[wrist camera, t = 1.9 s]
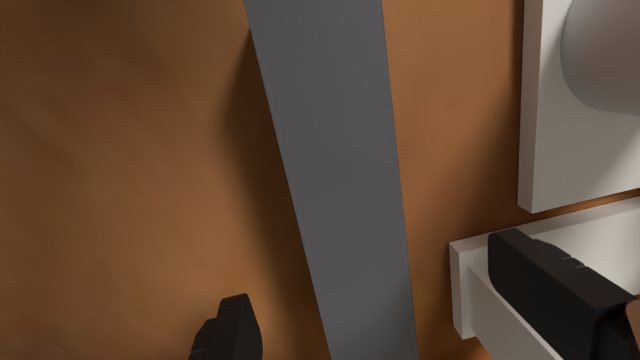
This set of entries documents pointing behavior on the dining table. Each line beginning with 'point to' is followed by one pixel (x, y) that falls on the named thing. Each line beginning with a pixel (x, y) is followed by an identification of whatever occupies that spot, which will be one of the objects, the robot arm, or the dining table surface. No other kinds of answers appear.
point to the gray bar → (341, 166)
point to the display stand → (566, 162)
